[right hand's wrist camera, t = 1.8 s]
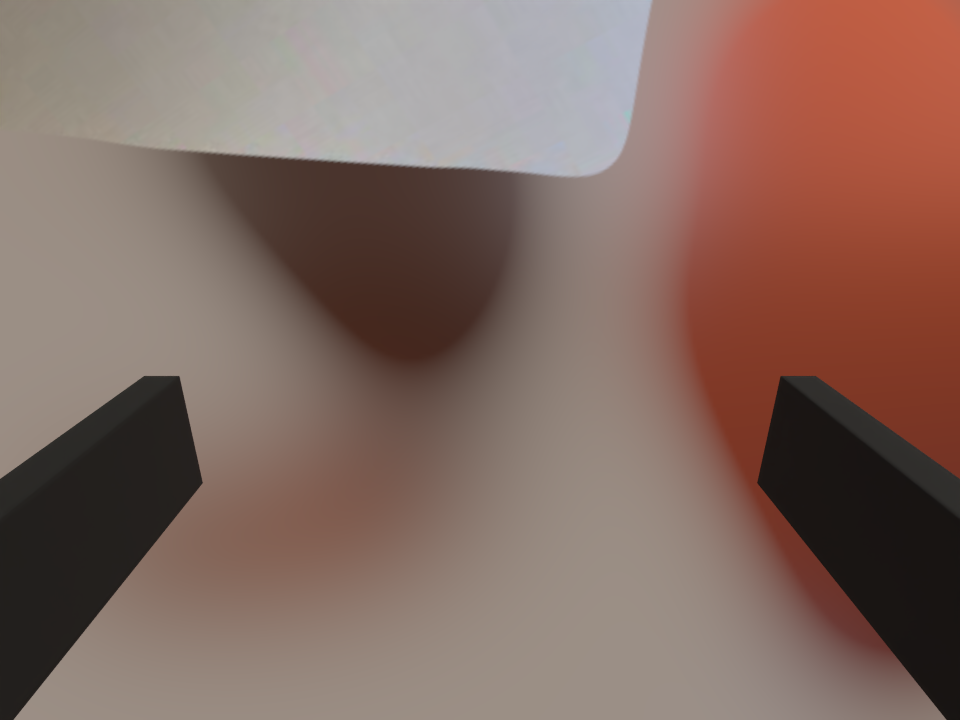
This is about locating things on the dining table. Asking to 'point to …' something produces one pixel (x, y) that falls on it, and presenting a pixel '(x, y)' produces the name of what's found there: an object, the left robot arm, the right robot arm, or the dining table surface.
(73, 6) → the dining table surface
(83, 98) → the dining table surface
